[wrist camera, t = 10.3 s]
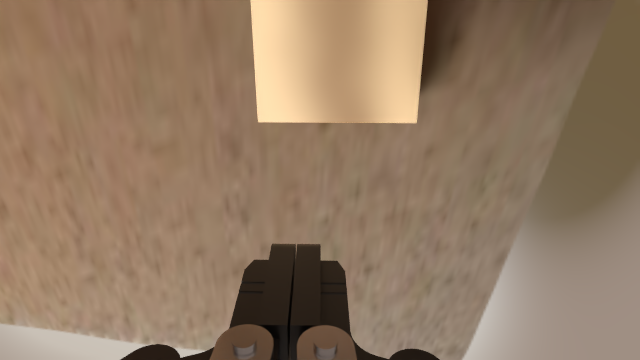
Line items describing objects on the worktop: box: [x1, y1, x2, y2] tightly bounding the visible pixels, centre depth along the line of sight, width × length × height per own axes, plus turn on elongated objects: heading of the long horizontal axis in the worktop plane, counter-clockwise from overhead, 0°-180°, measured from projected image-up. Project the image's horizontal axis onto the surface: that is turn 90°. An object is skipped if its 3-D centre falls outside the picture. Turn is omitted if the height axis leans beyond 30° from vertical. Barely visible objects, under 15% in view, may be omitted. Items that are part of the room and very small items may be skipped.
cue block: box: [251, 0, 428, 123], centre depth 23 cm, size 8×6×4 cm
